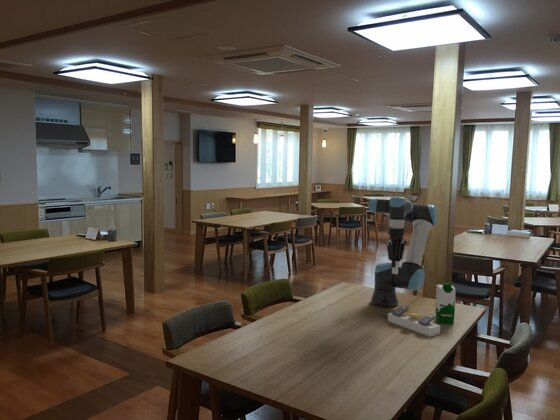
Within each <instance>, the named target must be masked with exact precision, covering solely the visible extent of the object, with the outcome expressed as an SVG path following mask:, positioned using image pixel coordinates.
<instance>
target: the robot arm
mask: <svg viewBox="0 0 560 420" xmlns="http://www.w3.org/2000/svg"><path fill="white" fill-rule="evenodd" d="M368 210H369V212H370V213H373V214H381V215H382V214H383V215H385V216H388V219H389V223H388V224H389V225H388V227H389V228H388V235H389V239H388V241H385V245H386V250H387V251H386V252H387V256H388V257H387V258H388V260H390V262H382V263H377V264H376V265H375V268H374V291H373V293H372V295H371V298H370V303H371V305H372V306H375V307H380V308H395V307H397V306H399V299H398V297H397V292H396V288H397V289H404V290H409V291H418V290H420V289H421V288H422V287H423V285H424V282H425V278H426V277H425V275H426V273H425V270H424V269H423V266H422V261H423V256H424V253H425V248H426V245H427V244H426V243H427V240H428V236H429V232H430V230H432V229H433V226H436V225H438V209H437V207H436V206H435V205H433V204H419V203H418V204H417V203H413V202H412V201H411V200H408V199H406V197H404V196H391V197H390V199H384V198H383V199H381V198H371V199H370V200H369V202H368ZM405 223H408V224H412V226H413V230H412V234H411V238H410V241H409V244H408V245H409V246H408V249H407V254H406V257H405V260H404V261H403V262H402V263H401V266H400V262H401V261H402V260H403V257H404V252H405V247H406V245H407V240H404V235H405Z"/></svg>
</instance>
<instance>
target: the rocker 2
mask: <svg viewBox="0 0 560 420" xmlns="http://www.w3.org/2000/svg"><path fill="white" fill-rule="evenodd" d="M404 315H407V316H410V317H417V318H420V319H421V318H423V316H422V315H421V314H418V313H415V312H413V313H412V312H407V311H406V312H405V314H404Z"/></svg>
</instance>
